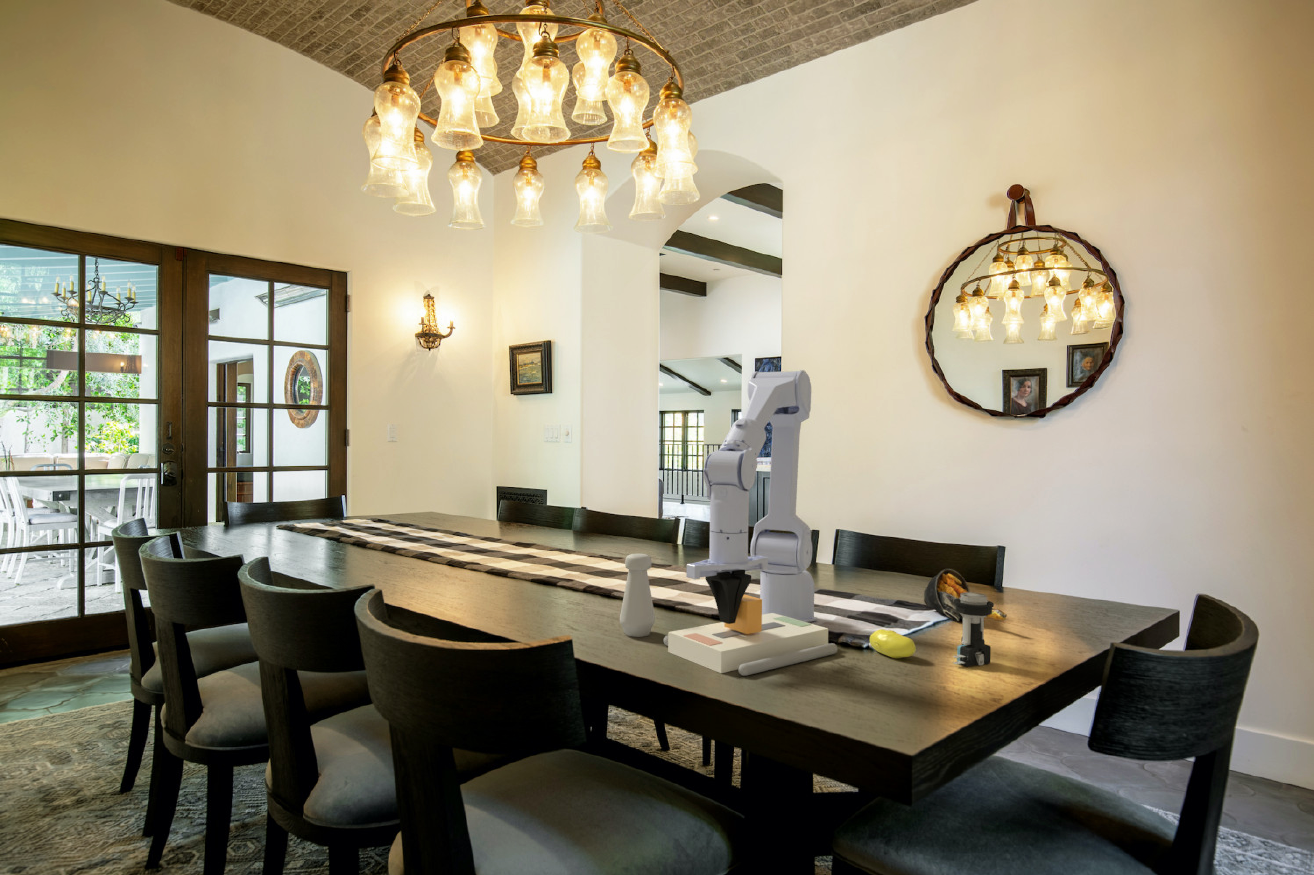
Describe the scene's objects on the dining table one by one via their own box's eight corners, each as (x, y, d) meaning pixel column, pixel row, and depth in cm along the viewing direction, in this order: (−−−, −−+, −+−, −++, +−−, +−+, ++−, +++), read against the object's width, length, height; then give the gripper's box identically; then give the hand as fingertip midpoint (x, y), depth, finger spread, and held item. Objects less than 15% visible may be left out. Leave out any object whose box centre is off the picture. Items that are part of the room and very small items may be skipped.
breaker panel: (772, 630, 125) (772, 612, 125) (827, 647, 115) (828, 627, 115) (668, 651, 112) (668, 631, 112) (720, 673, 102) (721, 650, 102)
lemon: (882, 647, 116) (882, 622, 116) (922, 661, 109) (922, 635, 109) (862, 650, 114) (862, 625, 114) (901, 665, 107) (902, 638, 107)
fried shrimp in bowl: (947, 581, 145) (1028, 566, 130) (945, 637, 140) (1028, 628, 125) (912, 566, 142) (991, 549, 127) (908, 623, 137) (990, 612, 122)
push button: (969, 672, 104) (971, 601, 104) (938, 662, 108) (939, 593, 108) (1000, 666, 107) (1001, 596, 107) (969, 656, 112) (970, 589, 112)
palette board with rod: (753, 627, 127) (753, 617, 127) (839, 654, 112) (839, 643, 112) (661, 645, 115) (661, 635, 115) (743, 678, 100) (743, 666, 100)
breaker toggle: (738, 623, 115) (739, 593, 115) (761, 631, 111) (762, 599, 111) (724, 626, 114) (724, 595, 114) (746, 634, 109) (747, 601, 109)
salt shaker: (650, 639, 118) (651, 558, 118) (615, 637, 119) (616, 556, 119) (657, 630, 124) (659, 552, 124) (624, 627, 125) (625, 550, 125)
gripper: (709, 537, 103) (707, 635, 103) (782, 530, 112) (781, 620, 112) (677, 531, 109) (676, 624, 109) (750, 525, 117) (749, 611, 117)
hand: (727, 622), depth 111 cm, fingers closed
